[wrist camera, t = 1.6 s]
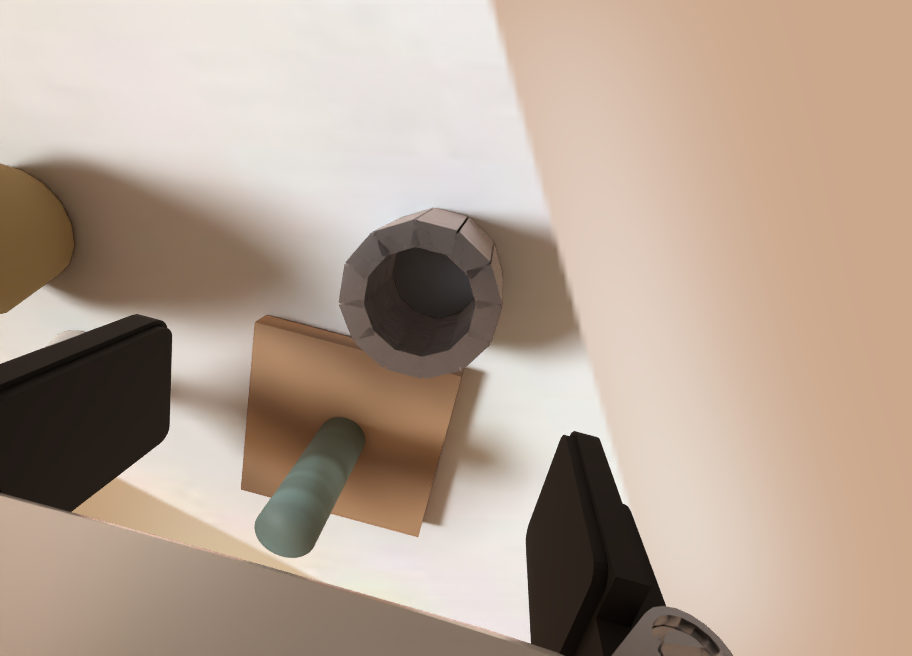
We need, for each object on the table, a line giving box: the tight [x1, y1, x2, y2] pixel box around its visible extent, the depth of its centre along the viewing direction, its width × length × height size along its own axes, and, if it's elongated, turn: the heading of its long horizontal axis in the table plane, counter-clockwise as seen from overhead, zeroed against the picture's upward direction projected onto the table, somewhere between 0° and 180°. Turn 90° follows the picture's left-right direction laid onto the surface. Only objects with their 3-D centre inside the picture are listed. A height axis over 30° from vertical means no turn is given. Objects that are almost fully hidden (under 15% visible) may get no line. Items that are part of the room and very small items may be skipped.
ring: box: [339, 208, 503, 379], centre depth 20 cm, size 6×6×5 cm
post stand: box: [241, 315, 463, 558], centre depth 23 cm, size 11×11×8 cm
